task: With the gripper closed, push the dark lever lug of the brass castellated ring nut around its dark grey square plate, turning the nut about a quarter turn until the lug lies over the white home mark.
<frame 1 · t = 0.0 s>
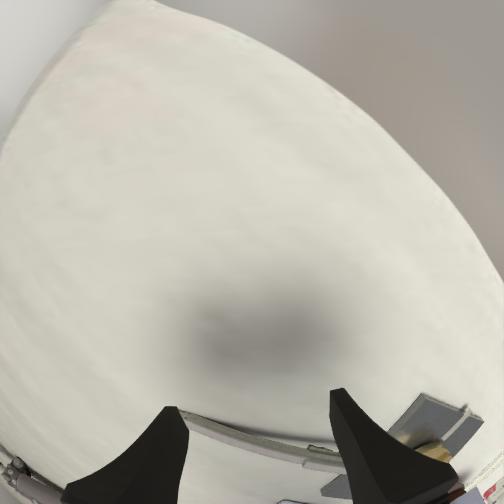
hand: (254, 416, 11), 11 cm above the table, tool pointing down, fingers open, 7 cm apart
dark grey square plate: (411, 458, 22), on the table
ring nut: (427, 475, 19), point 3 cm above the table, hinge at 0.0°
phone case: (486, 467, 24), on the table
ink box: (494, 485, 25), on the table
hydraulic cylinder: (40, 476, 27), on the table
flowerpot: (433, 496, 24), on the table
caliper: (272, 432, 23), on the table
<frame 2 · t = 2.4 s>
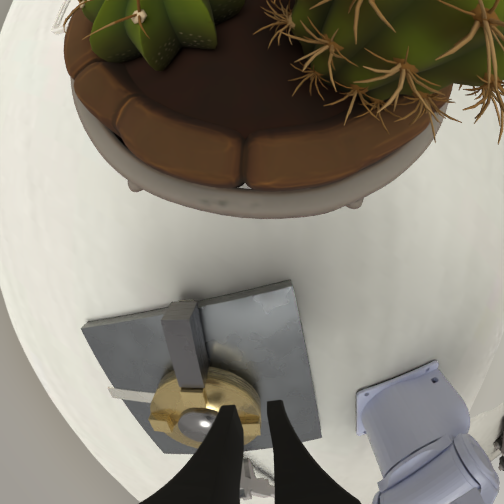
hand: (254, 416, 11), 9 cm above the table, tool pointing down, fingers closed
dark grey square plate: (210, 391, 22), on the table
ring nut: (199, 394, 18), point 3 cm above the table, hinge at 0.0°
flowerpot: (258, 95, 16), on the table
caliper: (276, 478, 27), on the table
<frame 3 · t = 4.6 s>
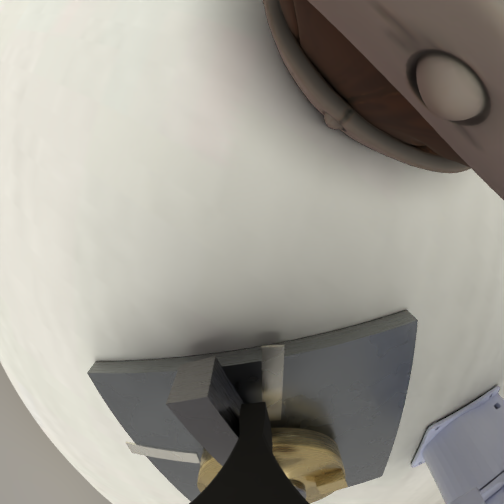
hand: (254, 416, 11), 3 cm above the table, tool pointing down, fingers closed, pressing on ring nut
dark grey square plate: (269, 446, 15), on the table
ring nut: (255, 465, 11), point 3 cm above the table, hinge at 19.6°, touching gripper
flowerpot: (384, 58, 9), on the table
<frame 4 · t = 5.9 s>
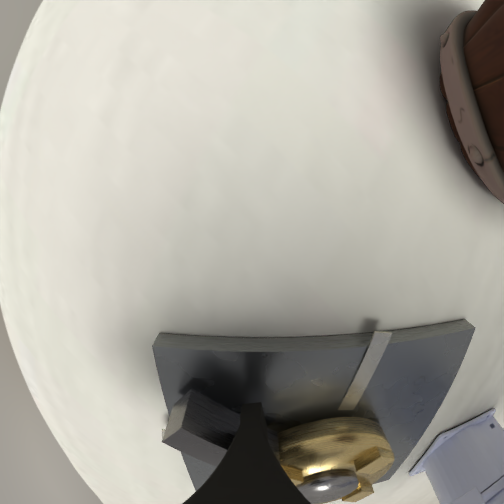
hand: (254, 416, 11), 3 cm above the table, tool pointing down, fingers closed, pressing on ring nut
dark grey square plate: (314, 439, 15), on the table
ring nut: (290, 466, 11), point 3 cm above the table, hinge at 61.2°, touching gripper
flowerpot: (490, 114, 9), on the table
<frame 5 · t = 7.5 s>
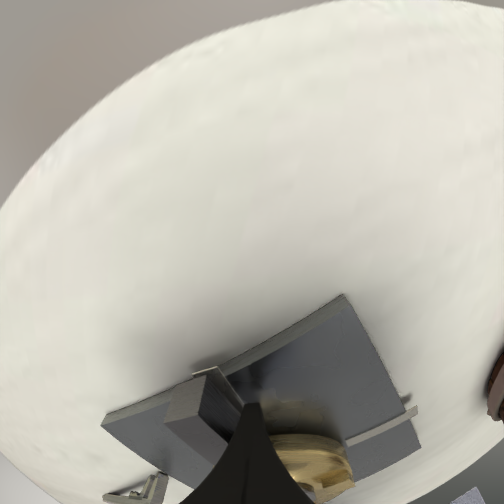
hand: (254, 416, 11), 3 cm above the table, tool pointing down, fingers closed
dark grey square plate: (279, 450, 15), on the table
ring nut: (262, 471, 12), point 3 cm above the table, hinge at 93.9°, touching gripper
caliper: (128, 486, 19), on the table
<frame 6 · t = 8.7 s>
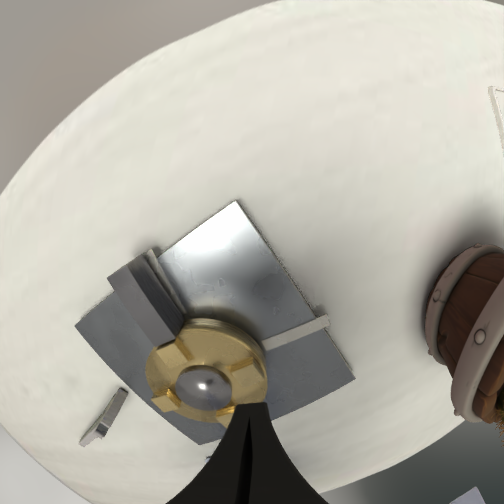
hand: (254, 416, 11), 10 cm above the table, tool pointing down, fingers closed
dark grey square plate: (211, 355, 21), on the table
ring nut: (184, 353, 18), point 3 cm above the table, hinge at 94.6°
flowerpot: (459, 297, 20), on the table
caliper: (99, 420, 25), on the table
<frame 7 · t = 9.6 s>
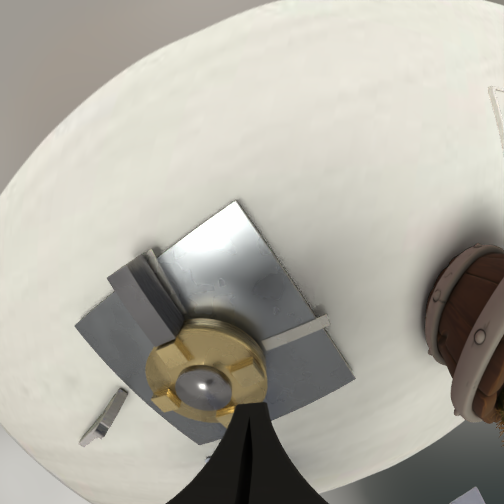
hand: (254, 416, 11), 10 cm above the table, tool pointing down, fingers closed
dark grey square plate: (211, 355, 21), on the table
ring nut: (184, 353, 18), point 3 cm above the table, hinge at 94.6°
flowerpot: (459, 297, 20), on the table
caliper: (99, 420, 25), on the table
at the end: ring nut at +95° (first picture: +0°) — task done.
